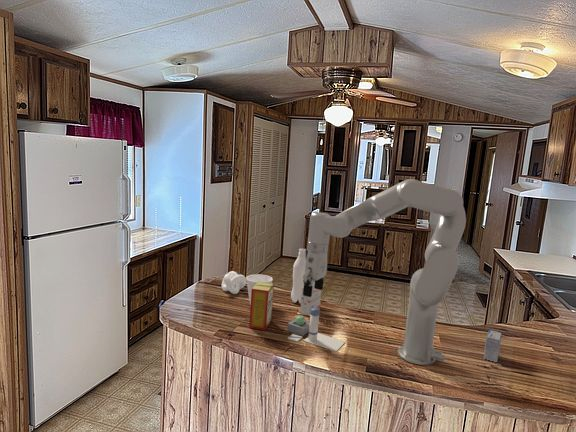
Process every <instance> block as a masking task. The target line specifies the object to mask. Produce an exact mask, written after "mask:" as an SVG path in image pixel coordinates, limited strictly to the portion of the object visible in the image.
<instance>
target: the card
mask: <svg viewBox="0 0 576 432" xmlns="http://www.w3.org/2000/svg"><path fill="white" fill-rule="evenodd" d="M302 339H303V336H301V335H298V334H295V333H292V334H291V335H289V336H288V337H287V340H291V341H294V342H297V343H298V342H299V341H300V340H302Z"/></svg>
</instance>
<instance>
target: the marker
mask: <svg viewBox="0 0 576 432" xmlns="http://www.w3.org/2000/svg"><path fill="white" fill-rule="evenodd" d="M320 314H321V309H319V308H311V311H310V316H309V322H310V325H309V332H308V336H309V337H308V336H307V337H308V340H309V341H311V342H315V341H317V334H318V333H319V324H320V323H319V320H320Z"/></svg>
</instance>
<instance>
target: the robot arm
mask: <svg viewBox="0 0 576 432" xmlns="http://www.w3.org/2000/svg"><path fill="white" fill-rule="evenodd" d="M409 207H410V208H415V209H418V210H420V211H424V212H429V213H433V214H435V215H438V219H437V225H436V227H435V230H434V232H433V234H432V236H431V238H430V241H429V242H428V245H427V247H426V249H425V251H424V260H425V264H424V266H423V267H422V268H419V269H417V270H416V271H415V272H413V274H412V276H411V279H410V283H409V299H408V305H407V306H408V307H407V314H406V321H405V322H406V323H405V332H404V337H403V338H404V339H403V345H401V346H400V347H399V348H397V349H398V350H397V352H398V356H399V357H400V359H402V360H404V361H406V362H409V363H410V364H414V365H419V366H429V365H432V364H434V363H435V362H436V359H437V360H439V361H443V362H445V359H446V355H445V354H443V351H440V350H436V349H435V345H434V338H435V337H434V335H435V329H436V321H437V316H438V307H439V304H440V303H441V302H442V301H443V300H444V298H446V296H447V293H448V291H449V289H450V287H451V285H452V282H453V280H454V278H455V276H456V274H457V272H458V269H459V265H460V259H459V255H458V253H457V252H456V251H457V249H458V246H459V244H460V241H461V239H462V237H463V235H464V231H465V228H466V225H467V224H466V223H467V215H466V210H465V207H464V198H463V195H461V194H460V193H459V192H458V191H457V190H455V189H452V188H450V187H443V186H438V185H434V184H430V183H426V182H424V181H420V180H417V179H414V178H408V179H404V180H403V181H401V182H398V183H396V184H394V185H393V186H390V187H389V188H386V189H385V190H383V191H380V192H379V193H377V194H374V195H373V196H371V197H369V198H367V199H365V200H363V201H362V202H359V203H357V204H355V205H353V206H351V207H349V208H347V209H345V210H343V211H342V212H340V213H338V214H336V215H335V216H334V215H330V214H329V213H326V212H321V211H320V212H319V211H318V212H316V211H315V212H312V213H311V214H310V217H309V227H308V237H307V245H306V252H307V253H306V265H305V274H304V275H303V279H304V280H303V282H304V283H303V284H304V288H303V295H304V296H308V297H311V296H312V287H313V286H312V283H313V282H315V286H314V288H315V289H319V290H321V291H323V288H324V279H325V277H326V275H327V271H328V252H329V244H330V236H332V237H336V238H346V237H348V236H349V235H350V234H351V232H352V231H353V230H354V229H356V228H358V227H361V226H362V225H365V224H366V223H370V222H372V221H379V220H382V219H383V220H384V219H386V218H388V217H390V216H392V215H393V214H396V213H398V212H400V211H402V210H405V209H406V208H409Z"/></svg>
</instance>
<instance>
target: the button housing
mask: <svg viewBox="0 0 576 432" xmlns="http://www.w3.org/2000/svg"><path fill="white" fill-rule="evenodd" d="M295 322H296V317H295V318H294V319H292V320H291V321H289V322H288V323H287V325H286V332H289V333H292V334H295V335H298V336H301V337H303V336H306V335H307V334H309V325H310V321H308V320H305V319H304V325H303V326H299V325H296V324H295Z"/></svg>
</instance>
